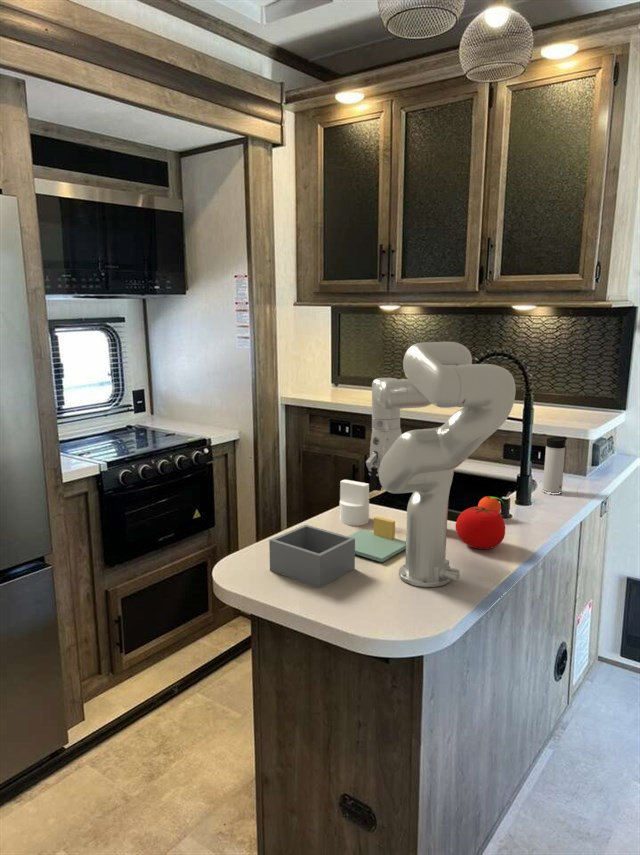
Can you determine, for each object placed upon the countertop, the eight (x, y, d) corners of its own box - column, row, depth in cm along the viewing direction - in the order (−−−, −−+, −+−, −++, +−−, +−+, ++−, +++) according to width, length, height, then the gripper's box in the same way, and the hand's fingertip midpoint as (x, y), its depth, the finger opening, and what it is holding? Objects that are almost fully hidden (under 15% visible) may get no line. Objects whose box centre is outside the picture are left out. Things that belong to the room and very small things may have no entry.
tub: (354, 568, 155) (355, 538, 154) (319, 588, 145) (319, 556, 143) (305, 553, 165) (305, 524, 164) (269, 570, 155) (269, 539, 153)
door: (410, 549, 169) (410, 525, 167) (381, 565, 158) (382, 539, 157) (361, 535, 179) (362, 512, 177) (332, 550, 168) (332, 525, 167)
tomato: (497, 558, 162) (499, 518, 160) (449, 547, 169) (451, 509, 167) (510, 543, 172) (512, 505, 170) (464, 534, 179) (466, 497, 177)
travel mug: (565, 495, 215) (569, 439, 211) (546, 495, 215) (550, 439, 212) (558, 490, 221) (563, 435, 218) (540, 490, 222) (544, 435, 218)
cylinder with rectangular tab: (333, 521, 189) (334, 483, 187) (349, 513, 197) (349, 477, 194) (359, 527, 184) (360, 488, 182) (374, 518, 192) (374, 481, 189)
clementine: (502, 515, 195) (503, 493, 194) (505, 522, 188) (506, 500, 187) (476, 513, 196) (477, 492, 195) (478, 521, 190) (479, 499, 188)
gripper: (379, 429, 157) (379, 495, 160) (414, 421, 170) (413, 481, 173) (355, 427, 162) (356, 490, 164) (391, 419, 175) (391, 478, 178)
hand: (385, 486), depth 169 cm, fingers open, 9 cm apart
